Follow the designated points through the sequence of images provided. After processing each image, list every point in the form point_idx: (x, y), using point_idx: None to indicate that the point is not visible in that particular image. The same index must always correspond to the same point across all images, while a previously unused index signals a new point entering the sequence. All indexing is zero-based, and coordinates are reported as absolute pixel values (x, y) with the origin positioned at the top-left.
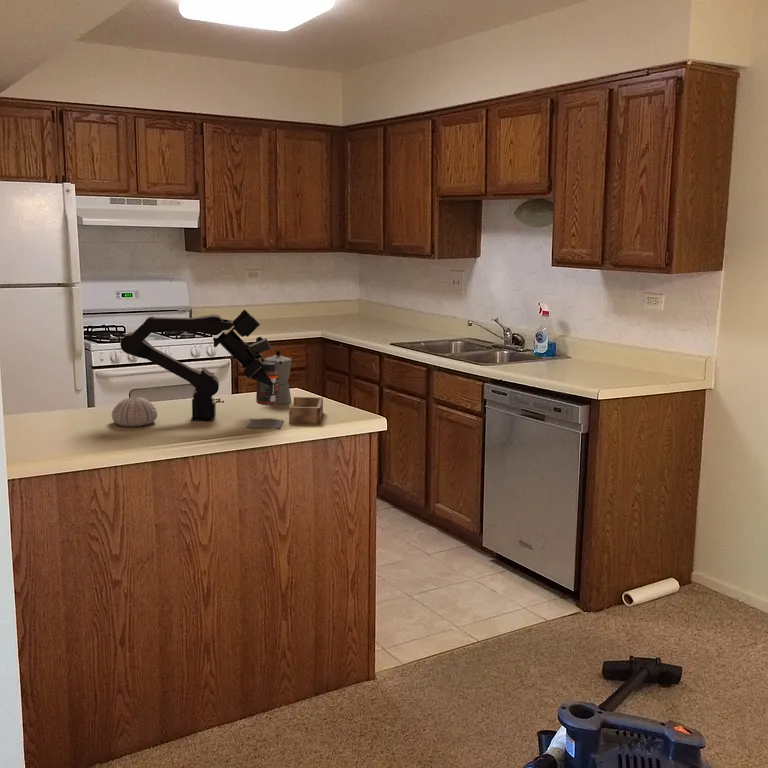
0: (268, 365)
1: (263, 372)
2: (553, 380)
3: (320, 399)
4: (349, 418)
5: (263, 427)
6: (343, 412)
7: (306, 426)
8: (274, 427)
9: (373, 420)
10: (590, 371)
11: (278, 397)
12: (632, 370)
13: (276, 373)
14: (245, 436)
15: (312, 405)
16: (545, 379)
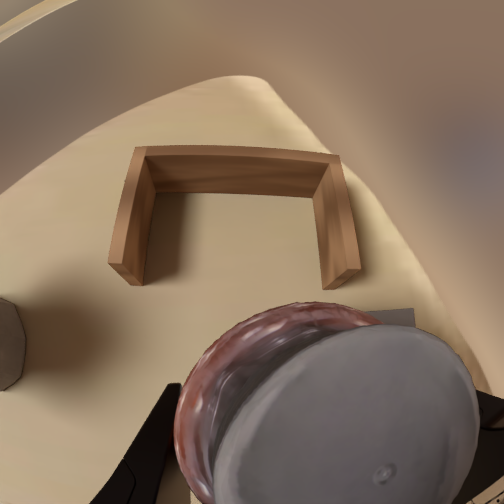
0: (472, 406)
1: (494, 410)
2: (45, 13)
3: (174, 151)
4: (233, 119)
5: None
6: (153, 133)
7: (362, 228)
8: (414, 326)
9: (251, 83)
10: (31, 13)
11: (7, 340)
12: (43, 2)
13: (362, 314)
14: (481, 381)
15: (145, 199)
16: (38, 17)
